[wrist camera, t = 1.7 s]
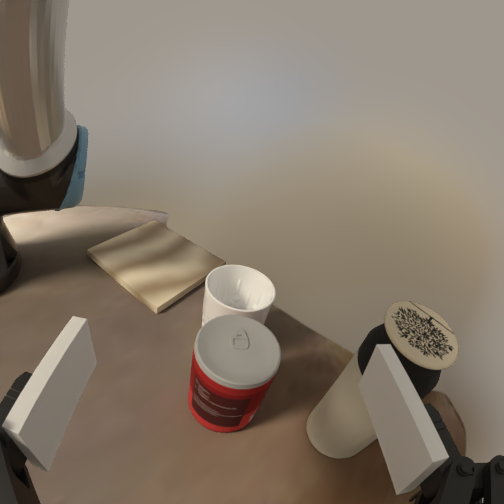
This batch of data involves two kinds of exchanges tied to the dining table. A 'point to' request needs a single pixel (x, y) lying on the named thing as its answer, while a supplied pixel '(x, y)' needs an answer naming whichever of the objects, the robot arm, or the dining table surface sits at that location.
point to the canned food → (231, 371)
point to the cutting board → (155, 264)
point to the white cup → (237, 293)
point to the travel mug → (346, 386)
